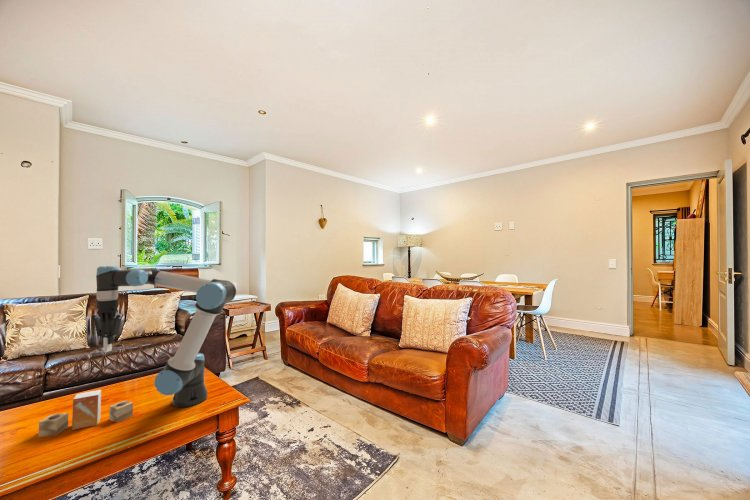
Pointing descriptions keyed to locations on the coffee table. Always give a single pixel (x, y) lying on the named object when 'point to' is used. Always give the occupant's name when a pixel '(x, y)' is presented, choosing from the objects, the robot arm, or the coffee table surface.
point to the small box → (86, 409)
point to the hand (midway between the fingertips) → (107, 351)
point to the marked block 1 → (53, 424)
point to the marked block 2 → (121, 411)
